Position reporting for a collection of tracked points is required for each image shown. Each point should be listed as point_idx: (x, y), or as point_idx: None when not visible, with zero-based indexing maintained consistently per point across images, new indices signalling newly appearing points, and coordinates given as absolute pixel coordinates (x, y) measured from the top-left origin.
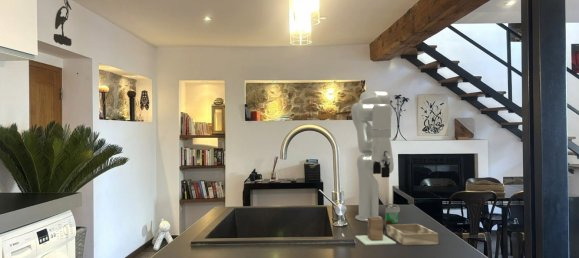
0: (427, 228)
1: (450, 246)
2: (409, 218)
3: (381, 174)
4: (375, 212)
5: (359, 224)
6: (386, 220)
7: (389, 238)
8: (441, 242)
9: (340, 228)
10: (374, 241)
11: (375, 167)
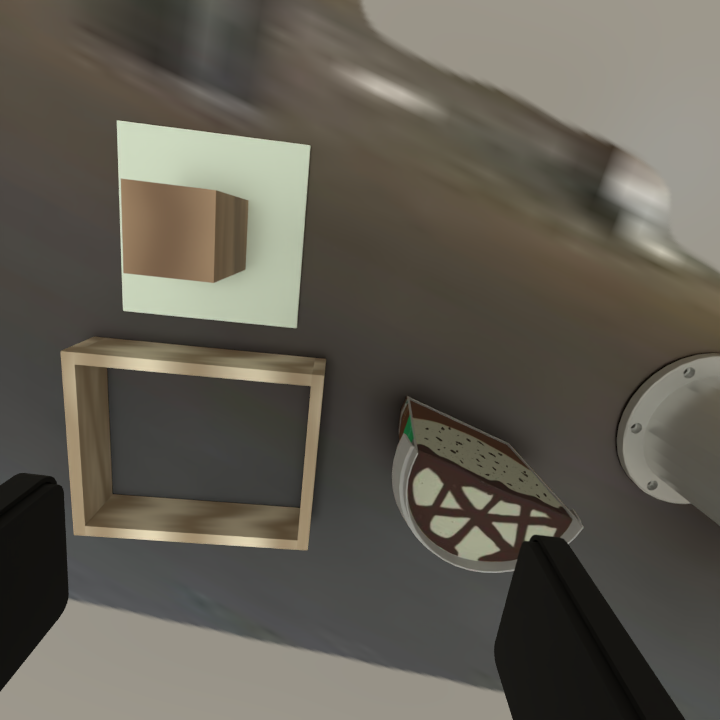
0: (190, 541)
1: None
2: None
3: (4, 502)
4: (669, 470)
5: (595, 317)
6: (408, 418)
7: (212, 319)
8: None
9: (542, 146)
10: None
11: (579, 689)
